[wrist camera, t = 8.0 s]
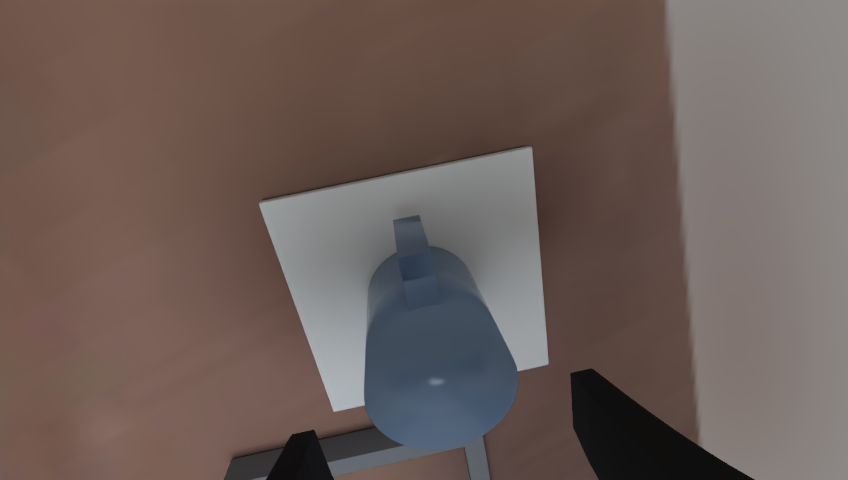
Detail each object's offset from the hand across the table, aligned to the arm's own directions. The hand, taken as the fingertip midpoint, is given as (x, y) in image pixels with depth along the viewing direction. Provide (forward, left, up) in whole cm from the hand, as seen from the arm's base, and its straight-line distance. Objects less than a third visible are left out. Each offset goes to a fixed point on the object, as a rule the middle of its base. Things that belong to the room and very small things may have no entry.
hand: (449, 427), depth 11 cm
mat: (0, 0, -8) cm, 8 cm away
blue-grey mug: (0, 0, -7) cm, 7 cm away
